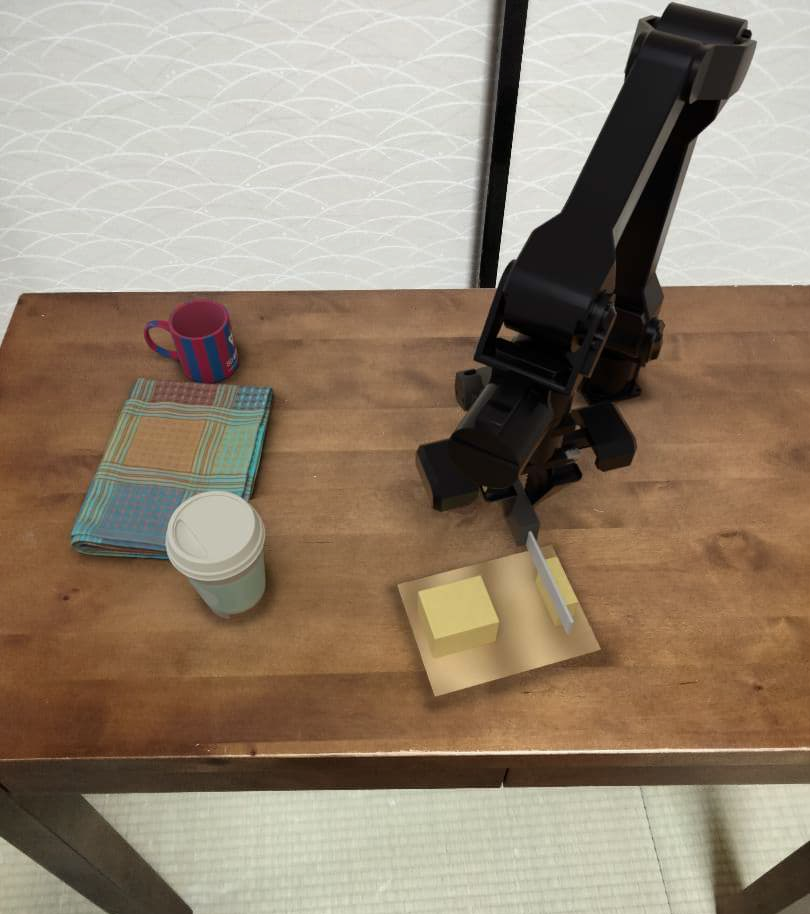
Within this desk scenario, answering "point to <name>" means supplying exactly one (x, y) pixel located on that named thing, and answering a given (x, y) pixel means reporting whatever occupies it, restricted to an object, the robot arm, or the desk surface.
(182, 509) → the coffee cup
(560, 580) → the butter slice
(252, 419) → the dish towel
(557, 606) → the knife
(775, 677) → the desk surface
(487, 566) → the board
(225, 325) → the cup
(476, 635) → the butter block
